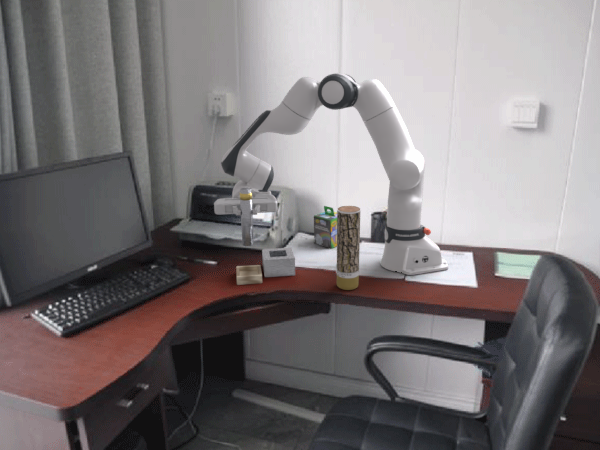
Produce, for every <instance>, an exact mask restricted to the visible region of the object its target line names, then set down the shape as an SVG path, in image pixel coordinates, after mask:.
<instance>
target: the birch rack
mask: <svg viewBox="0 0 600 450" xmlns="http://www.w3.org/2000/svg"><path fill="white" fill-rule="evenodd" d="M235 269H236V270H235V271H236V272H235V273H236V285H237V286H240V285H242V286H244V285H257V284H263V273H262V266H261V264H253V265H252V264H250V265H237V266H236V267H235Z"/></svg>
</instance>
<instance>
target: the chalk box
mask: <svg viewBox="0 0 600 450" xmlns="http://www.w3.org/2000/svg"><path fill="white" fill-rule="evenodd" d="M323 210H324V212H320V213H316V214H314V215H313V232H314V233H313V234H314V235H313V241H314V244H316V245H318V246H320V247H321V246H322V247H324V248H326V249H327V248H328V249H333V248H337V211H334V207H330V206H327V205H324V206H323Z"/></svg>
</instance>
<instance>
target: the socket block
mask: <svg viewBox="0 0 600 450" xmlns="http://www.w3.org/2000/svg"><path fill="white" fill-rule="evenodd" d="M261 253H262V269H263V275H264V278H275V277H290V276H291V277H292V276H296V258H295V254H294V251H293V248H292V247H278V248H262V249H261Z"/></svg>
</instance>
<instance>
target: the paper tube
mask: <svg viewBox="0 0 600 450" xmlns="http://www.w3.org/2000/svg"><path fill="white" fill-rule="evenodd" d="M336 212H337V247H336V286H337V288H339V289H340V290H343V291H344V290H345V291H351V290H352V291H353V290H355V289H357V288H358V287H359V282H360V281H359V279H360V278H359V277H360V248H361V247H360V244H361V243H360V242H361V240H360V239H361V238H360V237H361V235H360V234H361V208H360V207H358V206H355V205H340V206H338V207H337V210H336Z"/></svg>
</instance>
